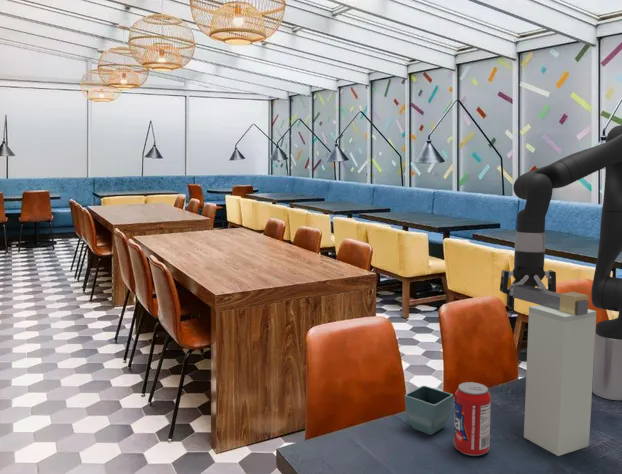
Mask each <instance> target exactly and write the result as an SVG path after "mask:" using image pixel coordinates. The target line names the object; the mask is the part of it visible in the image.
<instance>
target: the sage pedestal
mask: <svg viewBox="0 0 622 474" xmlns="http://www.w3.org/2000/svg"><path fill="white" fill-rule="evenodd" d="M527 322H528V324H527V325H528V327H527V347H526V375H525V397H524V398H525V401H524V423H523V425H524V427H523V438H524V439H526V440H529V441H530V442H532V443H533V444H535V445H537V446H539V447H541V448H543V449H544V450H546V451H548V452H549V453H552V454H554V455H555V456H557V457H560V456H562V455H565V454H569V453H572V452H575V451H578V450H581V449H584V448H588V447H590V433H591V431H590V430H591V415H592V397H593V372H594V355H595V336H596V325H597V310H594V309H589V308H588V314H584V315H572V314H568V313H565V312H561V311H560V310H557V309H553V308H549V307H546V306H542V305H538V304H536V305H531V306H529V307H528V320H527Z"/></svg>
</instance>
